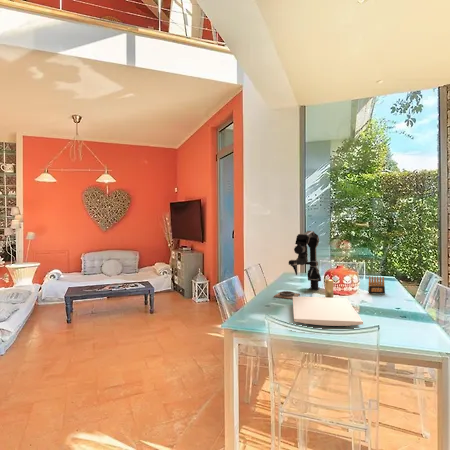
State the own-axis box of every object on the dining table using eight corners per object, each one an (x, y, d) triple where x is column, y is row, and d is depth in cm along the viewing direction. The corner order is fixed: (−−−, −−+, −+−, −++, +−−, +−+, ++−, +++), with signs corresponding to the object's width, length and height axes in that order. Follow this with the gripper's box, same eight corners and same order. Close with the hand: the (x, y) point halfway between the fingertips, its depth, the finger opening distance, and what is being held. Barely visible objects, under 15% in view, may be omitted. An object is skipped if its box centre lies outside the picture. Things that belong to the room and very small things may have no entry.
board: (292, 303, 205) (292, 296, 205) (346, 305, 199) (346, 298, 199) (294, 328, 161) (294, 318, 161) (363, 331, 155) (363, 321, 155)
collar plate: (280, 292, 233) (280, 289, 233) (300, 294, 226) (300, 291, 226) (273, 297, 221) (273, 293, 221) (293, 299, 214) (293, 296, 214)
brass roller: (326, 298, 215) (326, 279, 214) (334, 299, 212) (334, 279, 212) (324, 300, 210) (324, 280, 210) (332, 301, 208) (332, 281, 208)
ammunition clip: (368, 293, 227) (368, 276, 227) (368, 292, 229) (368, 275, 229) (385, 293, 226) (385, 276, 225) (384, 293, 228) (384, 276, 227)
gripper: (285, 253, 216) (285, 276, 217) (313, 254, 207) (313, 278, 208) (291, 251, 226) (291, 273, 227) (318, 252, 217) (318, 276, 217)
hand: (303, 275), depth 219 cm, fingers open, 9 cm apart
